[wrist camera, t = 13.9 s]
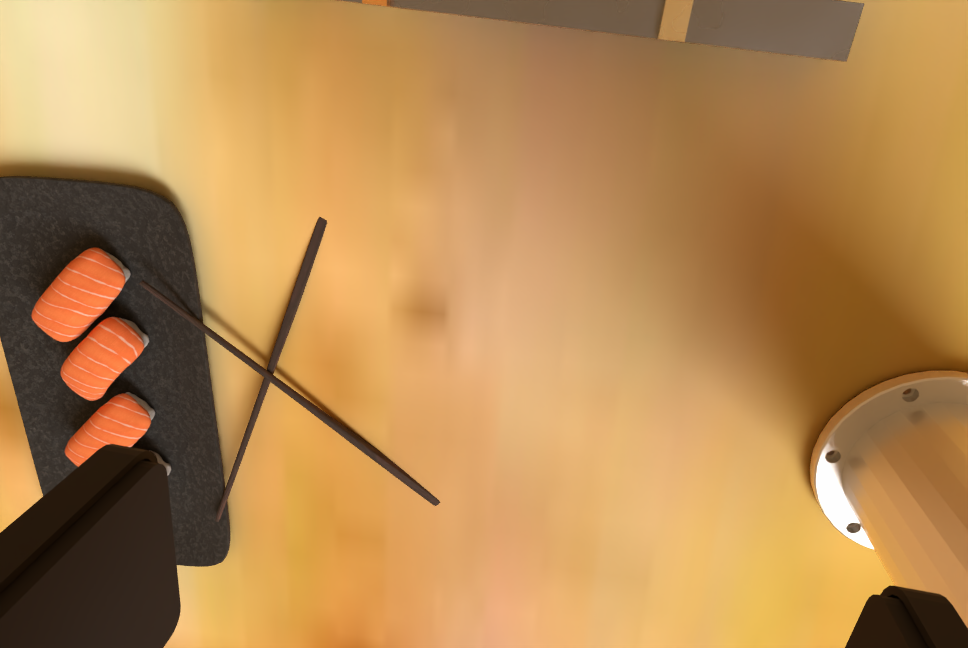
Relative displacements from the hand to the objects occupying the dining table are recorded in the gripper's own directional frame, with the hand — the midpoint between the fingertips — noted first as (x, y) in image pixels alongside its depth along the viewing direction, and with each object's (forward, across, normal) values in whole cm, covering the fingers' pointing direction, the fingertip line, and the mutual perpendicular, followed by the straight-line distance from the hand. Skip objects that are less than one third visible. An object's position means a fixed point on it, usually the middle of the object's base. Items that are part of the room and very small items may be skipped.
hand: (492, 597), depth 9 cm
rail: (+30, +3, -8) cm, 32 cm away
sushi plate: (+31, +20, +18) cm, 41 cm away
